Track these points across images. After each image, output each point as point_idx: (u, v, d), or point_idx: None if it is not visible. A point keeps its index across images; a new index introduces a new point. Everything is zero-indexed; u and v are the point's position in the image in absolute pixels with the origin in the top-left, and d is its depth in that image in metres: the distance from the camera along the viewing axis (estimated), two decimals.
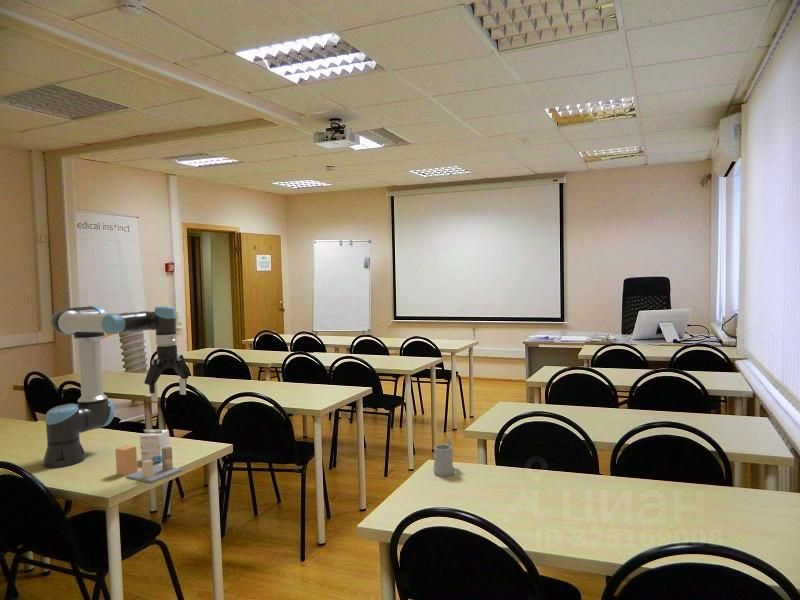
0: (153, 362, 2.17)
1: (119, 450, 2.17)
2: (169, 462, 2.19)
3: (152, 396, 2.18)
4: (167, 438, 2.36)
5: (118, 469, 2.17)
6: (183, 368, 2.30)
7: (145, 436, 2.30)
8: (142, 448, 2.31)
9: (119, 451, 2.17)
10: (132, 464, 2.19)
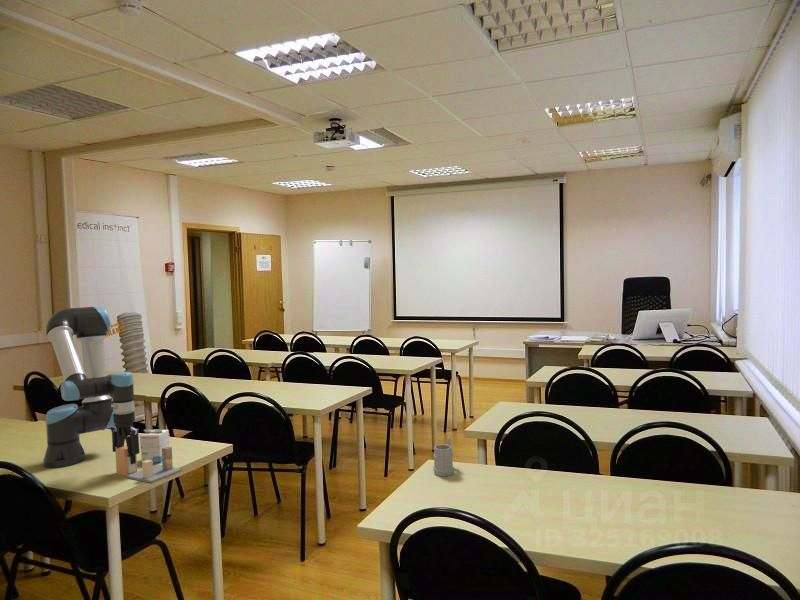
0: None
1: (119, 450, 2.17)
2: (169, 462, 2.19)
3: None
4: (167, 438, 2.36)
5: (118, 469, 2.17)
6: None
7: (145, 436, 2.30)
8: (142, 448, 2.31)
9: (119, 451, 2.17)
10: None
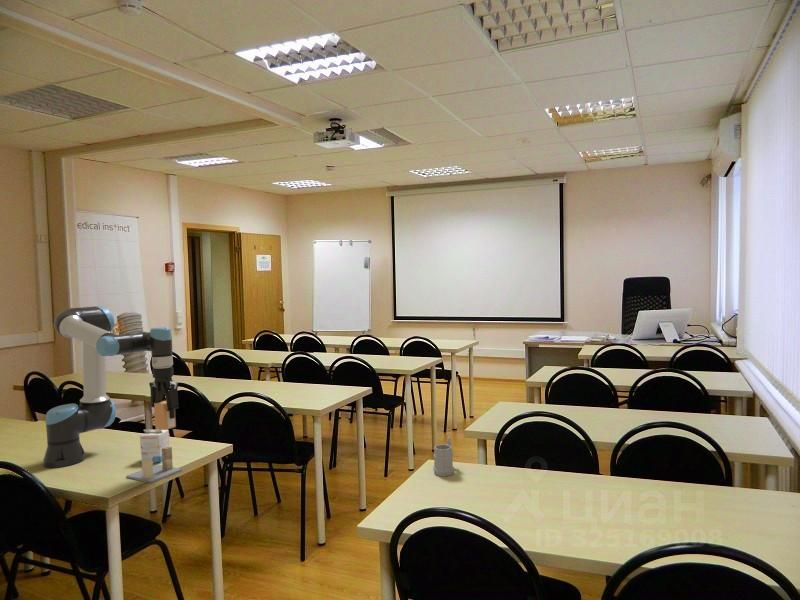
0: None
1: (158, 404, 2.16)
2: (169, 462, 2.19)
3: None
4: (167, 438, 2.36)
5: (157, 424, 2.17)
6: None
7: (145, 436, 2.30)
8: (142, 448, 2.31)
9: (158, 405, 2.16)
10: None
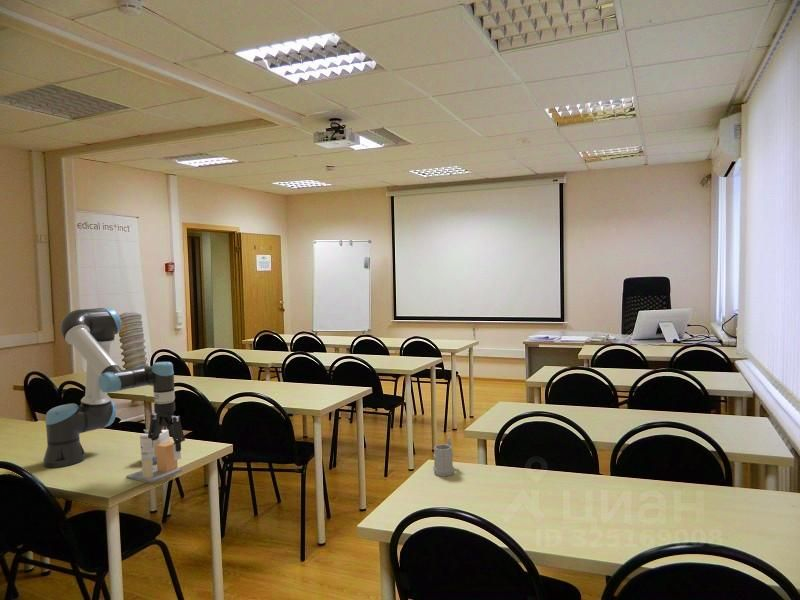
0: None
1: (160, 446, 2.17)
2: None
3: None
4: (167, 438, 2.36)
5: (159, 465, 2.18)
6: None
7: (145, 436, 2.30)
8: (142, 448, 2.31)
9: (160, 447, 2.17)
10: (173, 461, 2.19)
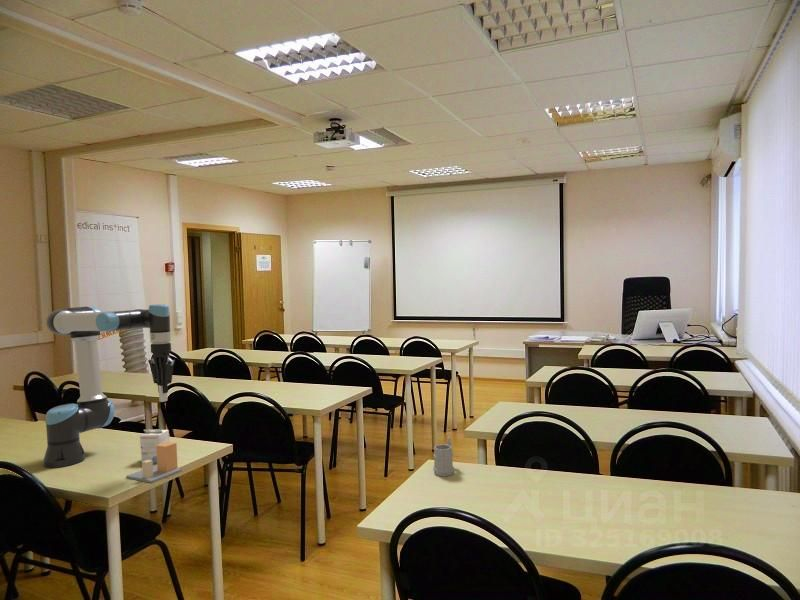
0: None
1: (160, 446, 2.17)
2: None
3: None
4: (167, 438, 2.36)
5: (159, 465, 2.18)
6: None
7: (145, 436, 2.30)
8: (142, 448, 2.31)
9: (160, 447, 2.17)
10: (173, 461, 2.19)
